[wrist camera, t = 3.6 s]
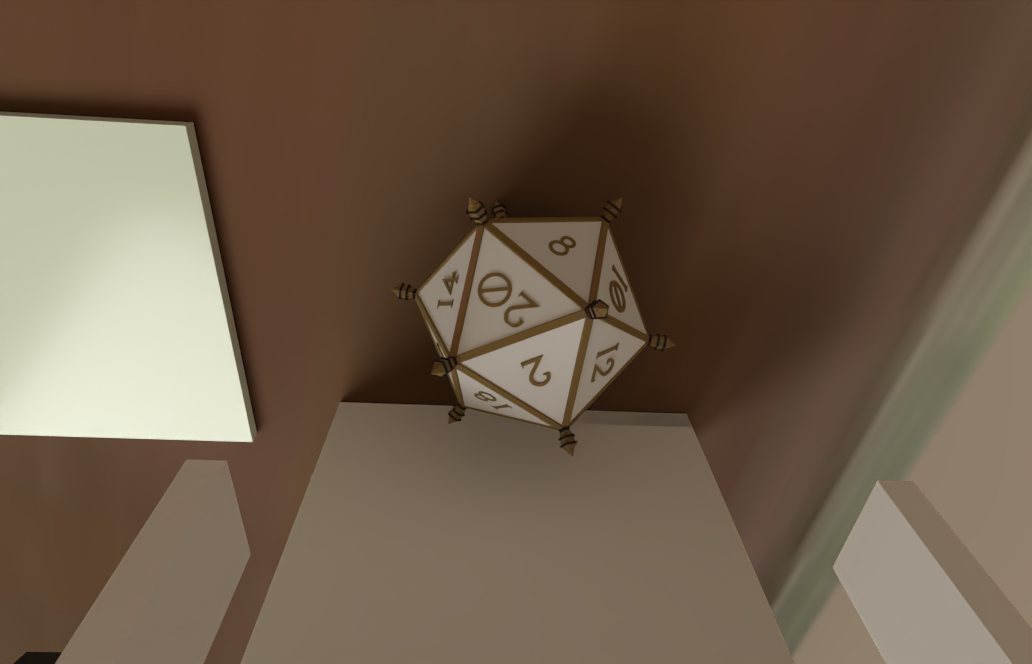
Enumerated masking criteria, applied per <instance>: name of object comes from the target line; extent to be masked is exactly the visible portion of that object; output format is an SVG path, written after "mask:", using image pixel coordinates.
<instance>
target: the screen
mask: <svg viewBox="0 0 1032 664" xmlns="http://www.w3.org/2000/svg"><path fill="white" fill-rule="evenodd" d="M453 407H454V406H442V405H413V404H383V403H353V402H340V403H339V406H338V409H337V411H336V414H335V417H334V419H333V422H332V424H331V427H330V430H329V432H328V435H327V438H326V440H325V443H324V446H323V448H322V451H321V453H320V456H319V459H318V461H317V464H316V467H315V469H314V472H313V474H312V477H311V480H310V482H309V485H308V488H307V490H306V493H305V496H304V498H303V501H302V503H301V506H300V509H299V511H298V514H297V517H296V519H295V522H294V524H293V527H292V530H291V532H290V535H289V538H288V540H287V543H286V546H285V548H284V551H283V553H282V556H281V559H280V561H279V564H278V567H277V569H276V572H275V574H274V577H273V580H272V582H271V585H270V588H269V590H268V593H267V595H266V598H265V601H264V603H263V606H262V609H261V611H260V614H259V617H258V619H257V622H256V624H255V627H254V630H253V632H252V635H251V638H250V640H249V643H248V645H247V648H246V651H245V653H244V656H243V659H242V661H241V664H795V663H794V661H793V659H792V656H791V654H790V652H789V649H788V647H787V645H786V643H785V640H784V638H783V636H782V633H781V631H780V629H779V626H778V624H777V622H776V619H775V617H774V615H773V612H772V610H771V608H770V606H769V603H768V601H767V599H766V596H765V594H764V592H763V589H762V587H761V585H760V582H759V580H758V578H757V575H756V573H755V571H754V568H753V566H752V564H751V562H750V559H749V557H748V555H747V552H746V550H745V548H744V545H743V543H742V541H741V538H740V536H739V534H738V531H737V529H736V527H735V525H734V522H733V520H732V518H731V515H730V513H729V511H728V508H727V506H726V504H725V501H724V499H723V497H722V494H721V492H720V490H719V487H718V485H717V483H716V481H715V478H714V476H713V474H712V471H711V469H710V467H709V464H708V462H707V460H706V457H705V455H704V453H703V450H702V448H701V446H700V444H699V441H698V439H697V437H696V434H695V432H694V430H693V427H692V425H691V423H690V420H689V418H688V416H687V414H679V413H649V412H620V411H590V410H586V411H585V412H584V413H583V414H582V415H581V416H580V417H579V418H578V419H577V420H576V421H575V422H574V423H573V424H572V425H571V427H570V428H569V429H570V431H571V432H572V434H574V435H575V436H574V439H575V441H577V444H576V445H575V449H574V454H573V457H572V456H571V455H570V454H569V453H567V452H566V451H565V450H564V449H563V448H560V446H561V442H560V441H558V439H559V438H560V432H559V431H558V430H555V429H551V428H547V427H543V426H539V425H535V424H530V423H526V422H522V421H518V420H514V419H510V418H505V417H501V416H497V415H493V414H489V413H485V412H480V411H476V410H472V409H468V408H467V409H466V410H465V413H464V414H465V416H462V418H461V421H457V422H453V423H450V424H448V420H449V415H448V413H449V411H450V410H452V408H453Z"/></svg>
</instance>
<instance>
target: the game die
mask: <svg viewBox="0 0 1032 664" xmlns="http://www.w3.org/2000/svg"><path fill="white" fill-rule="evenodd" d="M622 198H623V197H621V198H618V199H615V200H613V201H610V202H609V201H608V204H607V206H606V207H604V208H603V209H604V211H603V214H602V215H601V216H600V217H524V218H506V215H507V214H508V213H507V212H506V207H505V206H504V205H502V204H500V203H498V202H497V201H496V202H495V205H494V207H492V214H494V218H486V214H487V211H486V210H485V209H484V207H485V206H484V205H483V204H482V203H481V202H480V201H479V202H478V201H476V200H474V199H473V198H471V197H469V206H468V210H467V212H466V213H467V214H470V216H471V217H470V219H471V220H474V221H475V222H476V223H477V224H476V225H475V226H474V227H473V228H472V229H471V230H470V232H469V233H468V234H467V235H466V236H465V237H464V238H463V239H462V240H461V241H460V243H459V244H458V245H457V246H456V247H455V248H454V249H453V250H452V251H451V253H450V254H449V255H448V256H447V257H446V258H445V259H444V260H443V261H442V262H441V264H440V265H439V266H438V267H437V268H436V269H435V270H434V271H433V272H432V274H431V275H430V276H429V277H428V278H427V279H426V280H425V281H424V282H423V283H422V285H421V286H420V287H419V288H418V289H414V288H412V287H411V285H408V286H407V285H404V283H402V285H400V286H397V287H395V288H393V289H391V290H392V291H393V292H394V293H395V294H396V295H397V296H398V297H399V299H402V298H405V300H408V299H410V298H414V299H415V300H416V302H417V305H418V307H419V309H420V312H421V314H422V317H423V319H424V321H425V324H426V326H427V329H428V331H429V333H430V336H431V338H432V340H433V343H434V345H435V348H436V350H437V352H438V355H439V357H440V360H434V366H433V369H432V372H431V374H433V375H437V376H440V377H441V378H443V377H444V376H445V375H446V374H447V376H448V379H449V381H450V383H451V386H452V388H453V391H454V393H455V395H456V398H457V400H458V402H459V404H458V405H456V406H455V405H454V407H453V408H452V410H450V411H449V413H448V415H449V420H448V424H450V423H453V422H457V421H461V418H462V416H465V414H464V413H465V410H466V409H467V408H468V409H472V410H476V411H480V412H485V413H489V414H493V415H497V416H501V417H505V418H510V419H514V420H518V421H522V422H526V423H530V424H535V425H539V426H543V427H547V428H551V429H555V430H558V431H559V432H560V438H559V439H558V441H560V442H561V446H560V448H563V449H564V450H565V451H566V452H567V453H569V454H570V455H571V456H572V457H573V454H574V449H575V445H576V444H577V441H575V439H574V436H575V435H574V434H572V432H571V431H570V429H569V428H570V427H571V425H572V424H573V423H574V422H575V421H576V420H577V419H578V418H579V417H580V416H581V415H582V414H583V413H584V412H585V411H586V409H587V408H588V407H589V406H590V405H591V404H592V403H593V402H594V401H595V400H596V399H597V398H598V397H599V396H600V395H601V393H602V392H603V391H604V390H605V389H606V388H607V387H608V386H609V385H610V384H611V383H612V382H613V381H614V380H615V379H616V378H617V376H618V375H619V374H620V373H621V372H622V371H623V370H624V369H625V368H626V367H627V366H628V365H629V364H630V363H631V362H632V360H633V359H634V358H635V357H636V356H637V355H638V354H639V353H640V352H641V351H642V350H643V349H644V348H645V347H646V346H647V345H651V346H652V347H654V349H657V348H658V349H661V351H663V350H664V349H667V348H669V347H672V346H675V344H674V343H673V342H672V341H671V340H669V339H668V338H667V336H666V335H664V336H660V335H659V334H657V335H652V336H651V335H649V333H648V330H647V327H646V325H645V322H644V319H643V316H642V314H641V311H640V308H639V305H638V302H637V300H636V297H635V294H634V291H633V289H632V286H631V283H630V280H629V278H628V275H627V272H626V269H625V267H624V264H623V261H622V258H621V256H620V253H619V250H618V247H617V245H616V242H615V239H614V236H613V234H612V231H611V228H610V225H609V222H610V220H611V219H613V218H614V217H615V218H616V217H617V216H616V215H617V214H618V212H621V204H622Z"/></svg>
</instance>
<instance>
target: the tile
mask: <svg viewBox="0 0 1032 664" xmlns="http://www.w3.org/2000/svg"><path fill="white" fill-rule="evenodd" d="M0 434H6V435H39V436H72V437H105V438H138V439H171V440H204V441H237V442H253V440H254V438H255V436H256V435H257V430H256V425H255V420H254V416H253V411H252V406H251V401H250V396H249V391H248V386H247V382H246V377H245V372H244V367H243V362H242V357H241V352H240V347H239V343H238V338H237V333H236V328H235V323H234V318H233V313H232V308H231V304H230V299H229V294H228V289H227V284H226V279H225V274H224V269H223V265H222V260H221V255H220V250H219V245H218V240H217V235H216V230H215V226H214V221H213V216H212V211H211V206H210V201H209V196H208V191H207V187H206V182H205V177H204V172H203V167H202V162H201V157H200V152H199V148H198V143H197V138H196V133H195V128H194V123H193V122H179V121H161V120H143V119H126V118H108V117H90V116H73V115H55V114H37V113H20V112H2V111H0Z"/></svg>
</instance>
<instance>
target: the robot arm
mask: <svg viewBox="0 0 1032 664" xmlns="http://www.w3.org/2000/svg"><path fill="white" fill-rule="evenodd" d="M250 555H251V553H250V549H249V546H248V542H247V538H246V534H245V530H244V526H243V522H242V518H241V514H240V510H239V507H238V503H237V499H236V495H235V491H234V487H233V483H232V479H231V475H230V471H229V468H228V464H227V461H218V460H186V461H185V463H184V464H183V466H182V467H181V469H180V471H179V472H178V474H177V475H176V477H175V478H174V480H173V481H172V483H171V484H170V486H169V488H168V489H167V491H166V492H165V494H164V495H163V497H162V498H161V500H160V502H159V503H158V505H157V506H156V508H155V509H154V511H153V512H152V514H151V515H150V517H149V519H148V520H147V522H146V523H145V525H144V526H143V528H142V529H141V531H140V533H139V534H138V536H137V537H136V539H135V540H134V542H133V543H132V545H131V547H130V548H129V550H128V551H127V553H126V554H125V556H124V557H123V559H122V560H121V562H120V564H119V565H118V567H117V568H116V570H115V571H114V573H113V574H112V576H111V578H110V579H109V581H108V582H107V584H106V585H105V587H104V588H103V590H102V591H101V593H100V595H99V596H98V598H97V599H96V601H95V602H94V604H93V605H92V607H91V609H90V610H89V612H88V613H87V615H86V616H85V618H84V619H83V621H82V622H81V624H80V626H79V627H78V629H77V630H76V632H75V633H74V635H73V636H72V638H71V640H70V641H69V643H68V644H67V646H66V647H65V649H64V650H63V652H62V653H60V652H26V653H25V654H24V655H23V656H22V657H20V658H19V659H18V660H17V661H16V662H15V663H14V664H204V661H205V659H206V657H207V654H208V652H209V650H210V647H211V645H212V643H213V640H214V638H215V636H216V633H217V631H218V629H219V626H220V624H221V622H222V620H223V617H224V615H225V613H226V610H227V608H228V606H229V603H230V601H231V599H232V596H233V594H234V592H235V589H236V587H237V585H238V582H239V580H240V578H241V575H242V573H243V571H244V568H245V566H246V564H247V561H248V559H249V557H250ZM833 569H834V571H835V573H836V575H837V576H838V578H839V580H840V582H841V584H842V585H843V587H844V589H845V591H846V593H847V594H848V596H849V598H850V600H851V602H852V603H853V605H854V607H855V609H856V611H857V612H858V614H859V616H860V618H861V620H862V621H863V623H864V625H865V627H866V629H867V630H868V632H869V634H870V636H871V638H872V640H873V641H874V643H875V645H876V647H877V649H878V650H879V652H880V654H881V656H882V658H883V659H884V661H885V663H886V664H1032V628H1031V627H1030V626H1029V625H1028V624H1027V622H1026V621H1025V620H1024V619H1023V617H1022V616H1021V615H1020V614H1019V612H1018V611H1017V610H1016V609H1015V607H1014V606H1013V605H1012V604H1011V602H1010V601H1009V600H1008V599H1007V597H1006V596H1005V595H1004V594H1003V593H1002V591H1001V590H1000V589H999V587H998V586H997V585H996V584H995V582H994V581H993V580H992V579H991V577H990V576H989V575H988V574H987V573H986V571H985V570H984V569H983V568H982V566H981V565H980V564H979V563H978V561H977V560H976V559H975V558H974V557H973V555H972V554H971V553H970V551H969V550H968V549H967V548H966V547H965V545H964V544H963V543H962V542H961V540H960V539H959V538H958V536H957V535H956V534H955V533H954V532H953V530H952V529H951V528H950V527H949V525H948V524H947V523H946V522H945V520H944V519H943V518H942V517H941V516H940V514H939V513H938V512H937V510H936V509H935V508H934V507H933V505H932V504H931V503H930V502H929V500H928V499H927V498H926V497H925V496H924V494H923V493H922V492H921V491H920V490H919V488H918V487H917V486H916V484H915V483H914V482H911V481H879V480H877V482H876V484H875V486H874V488H873V490H872V492H871V494H870V496H869V498H868V500H867V502H866V504H865V505H864V507H863V509H862V511H861V513H860V515H859V517H858V519H857V521H856V523H855V525H854V527H853V529H852V531H851V533H850V535H849V536H848V538H847V540H846V542H845V544H844V546H843V548H842V550H841V552H840V554H839V556H838V558H837V560H836V562H835V564H834V566H833Z"/></svg>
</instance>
